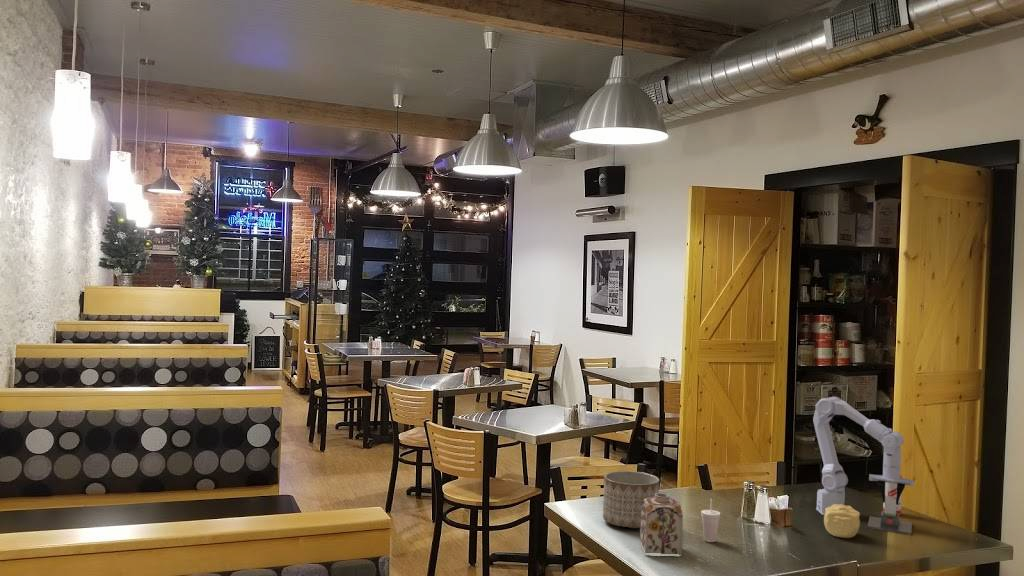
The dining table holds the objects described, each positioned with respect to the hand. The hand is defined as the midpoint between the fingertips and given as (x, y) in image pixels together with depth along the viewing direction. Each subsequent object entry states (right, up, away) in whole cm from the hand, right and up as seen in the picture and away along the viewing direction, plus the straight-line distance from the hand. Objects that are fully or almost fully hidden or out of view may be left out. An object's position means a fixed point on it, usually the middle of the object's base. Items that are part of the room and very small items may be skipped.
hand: (890, 502), depth 279 cm
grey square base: (0, -9, 0) cm, 9 cm away
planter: (-96, -6, -7) cm, 96 cm away
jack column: (0, -5, 0) cm, 5 cm away
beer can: (+9, -9, +16) cm, 21 cm away
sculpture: (-23, -8, -12) cm, 27 cm away
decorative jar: (-90, -6, -34) cm, 97 cm away
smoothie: (-72, -7, -23) cm, 76 cm away
